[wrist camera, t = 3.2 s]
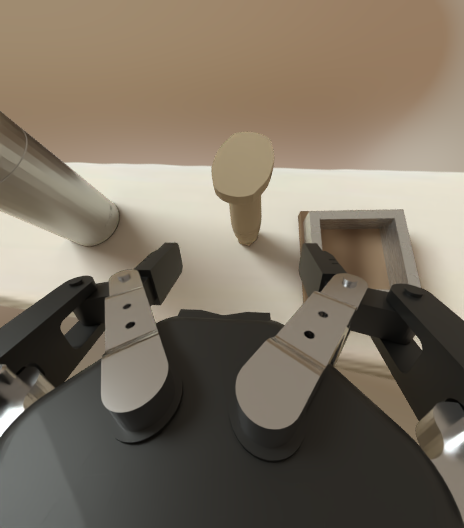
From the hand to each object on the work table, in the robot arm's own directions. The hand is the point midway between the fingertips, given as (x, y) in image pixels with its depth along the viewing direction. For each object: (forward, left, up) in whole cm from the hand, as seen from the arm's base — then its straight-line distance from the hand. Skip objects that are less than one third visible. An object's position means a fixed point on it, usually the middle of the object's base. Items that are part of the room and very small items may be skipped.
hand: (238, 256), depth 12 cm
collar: (+14, +4, -14) cm, 20 cm away
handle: (0, +8, -16) cm, 18 cm away
